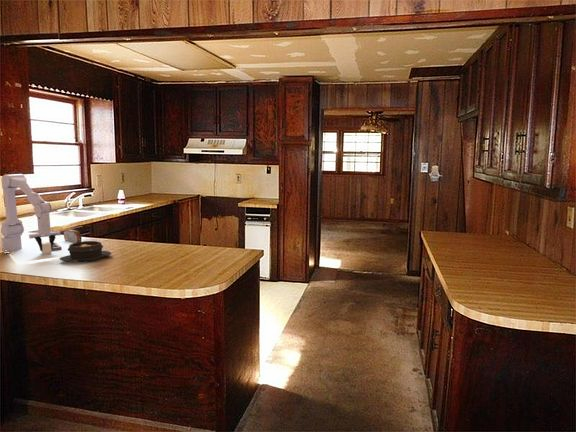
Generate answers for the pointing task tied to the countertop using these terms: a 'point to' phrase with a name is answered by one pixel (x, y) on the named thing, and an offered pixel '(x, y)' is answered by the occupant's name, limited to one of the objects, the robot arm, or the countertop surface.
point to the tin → (72, 235)
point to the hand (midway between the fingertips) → (46, 249)
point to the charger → (46, 248)
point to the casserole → (85, 251)
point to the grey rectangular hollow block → (56, 247)
